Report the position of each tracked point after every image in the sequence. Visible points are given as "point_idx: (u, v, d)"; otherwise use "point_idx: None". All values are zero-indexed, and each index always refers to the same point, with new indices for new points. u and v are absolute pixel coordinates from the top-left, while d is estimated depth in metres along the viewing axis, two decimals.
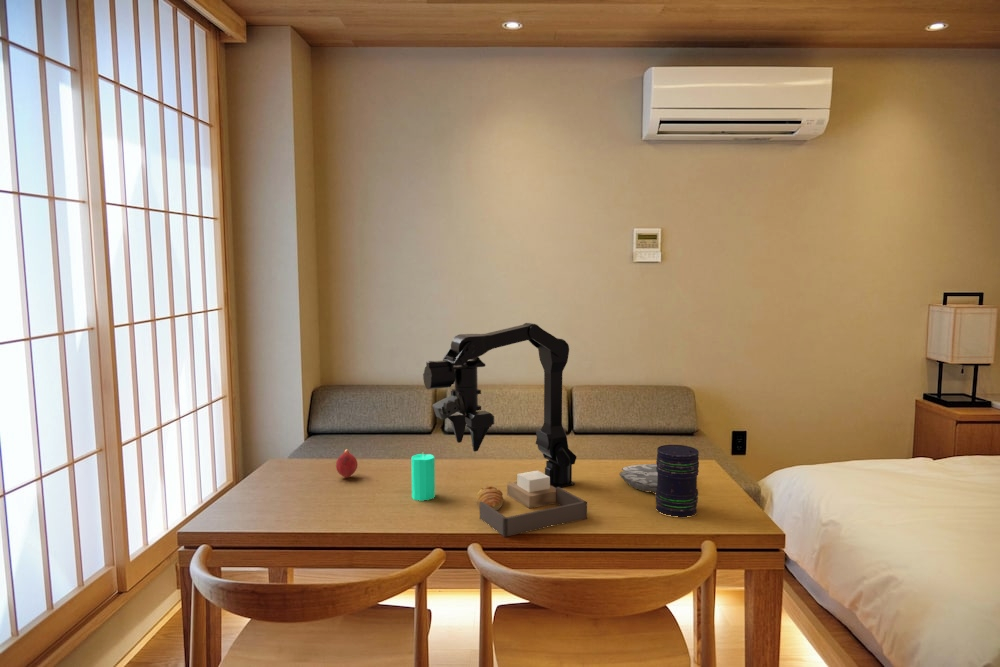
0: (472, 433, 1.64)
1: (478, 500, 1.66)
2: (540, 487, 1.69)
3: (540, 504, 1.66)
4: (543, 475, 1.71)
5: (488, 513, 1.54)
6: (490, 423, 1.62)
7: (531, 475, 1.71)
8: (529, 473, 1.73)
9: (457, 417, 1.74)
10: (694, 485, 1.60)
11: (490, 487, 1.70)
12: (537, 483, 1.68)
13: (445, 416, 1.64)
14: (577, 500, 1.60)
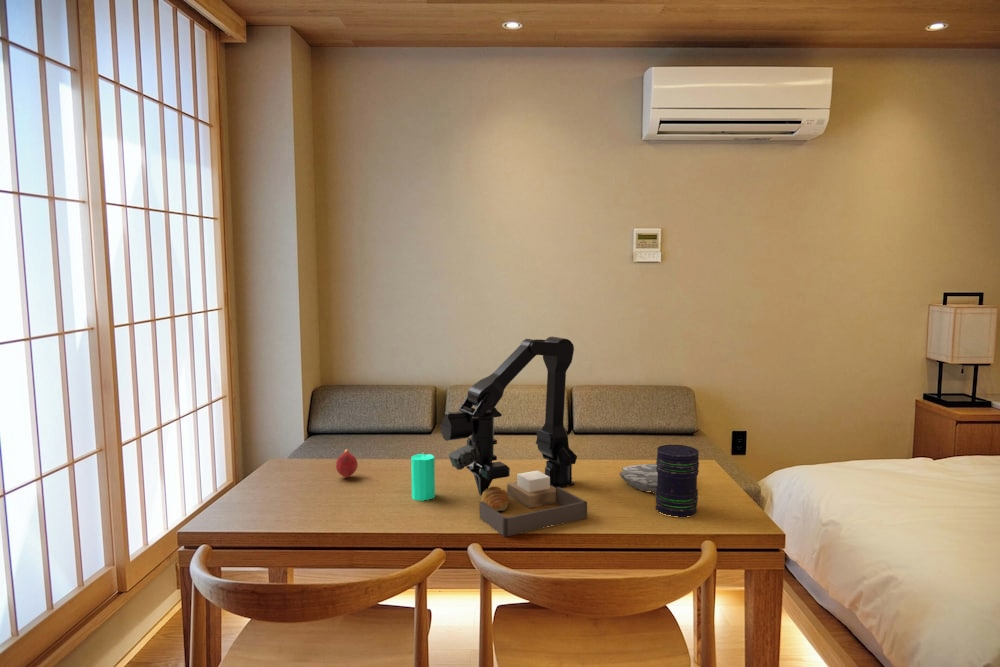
0: (479, 479, 1.69)
1: (484, 501, 1.65)
2: (540, 487, 1.69)
3: (540, 504, 1.66)
4: (543, 475, 1.71)
5: (488, 513, 1.54)
6: (506, 475, 1.63)
7: (531, 475, 1.71)
8: (529, 473, 1.73)
9: None
10: (694, 485, 1.60)
11: (494, 487, 1.69)
12: (537, 483, 1.68)
13: (461, 466, 1.65)
14: (577, 500, 1.60)
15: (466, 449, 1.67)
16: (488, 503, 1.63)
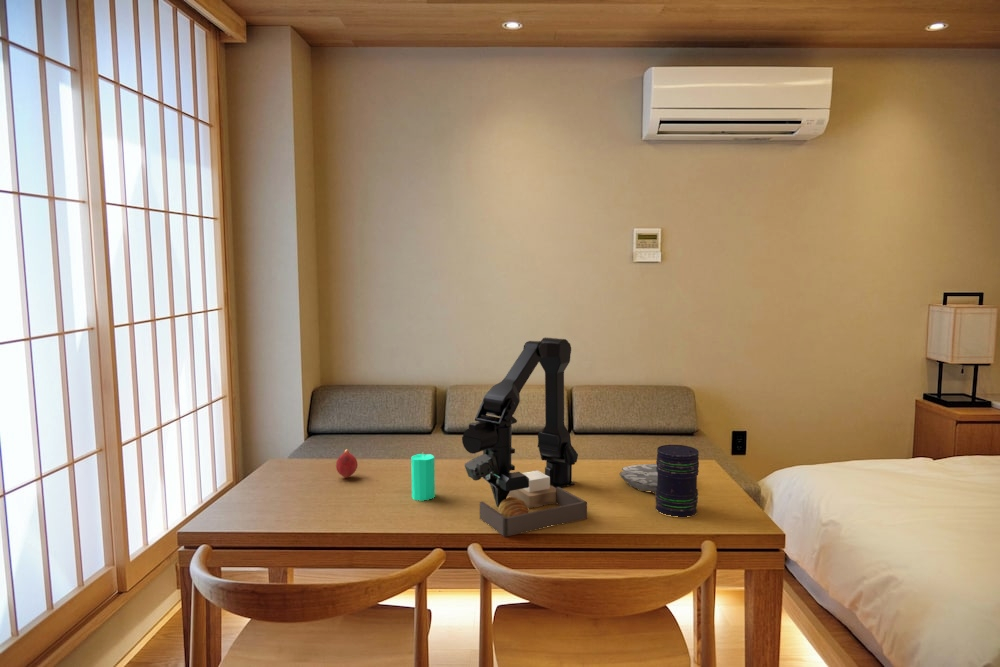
0: (497, 490, 1.61)
1: (503, 513, 1.57)
2: (540, 487, 1.69)
3: (540, 504, 1.66)
4: (543, 475, 1.71)
5: (488, 513, 1.54)
6: (525, 486, 1.55)
7: (531, 475, 1.71)
8: (529, 473, 1.73)
9: None
10: (694, 485, 1.60)
11: (512, 498, 1.62)
12: (537, 483, 1.68)
13: (478, 477, 1.57)
14: (577, 500, 1.60)
15: (483, 459, 1.60)
16: (508, 515, 1.56)
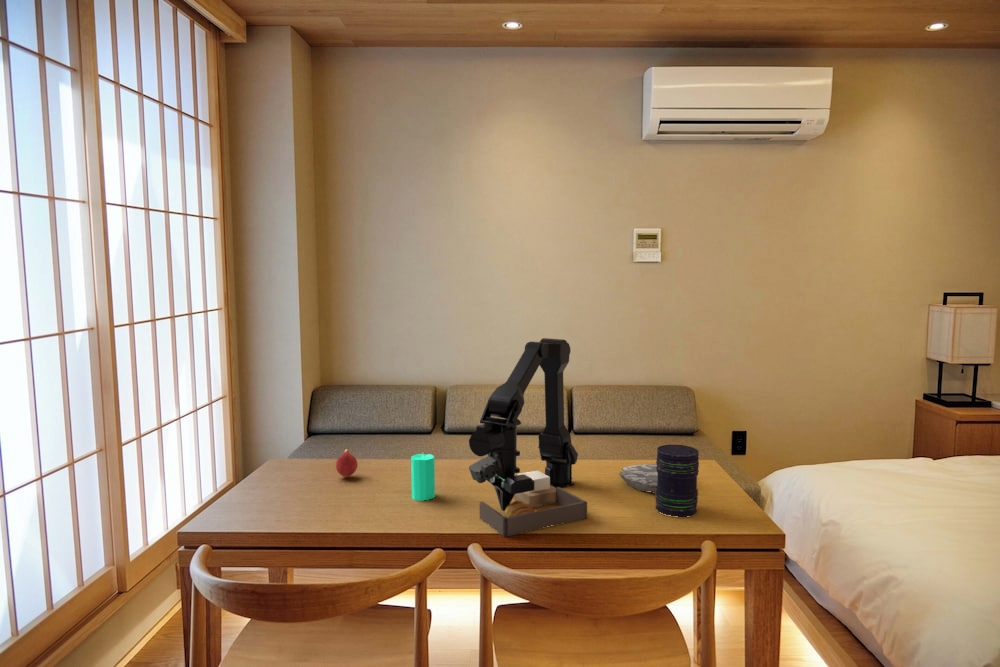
0: (501, 493, 1.59)
1: None
2: (540, 487, 1.69)
3: (540, 504, 1.66)
4: (543, 475, 1.71)
5: (488, 513, 1.54)
6: (531, 489, 1.53)
7: (531, 475, 1.71)
8: (529, 473, 1.73)
9: None
10: (694, 485, 1.60)
11: (518, 502, 1.60)
12: (537, 483, 1.68)
13: (482, 480, 1.55)
14: (577, 500, 1.60)
15: (487, 461, 1.57)
16: None
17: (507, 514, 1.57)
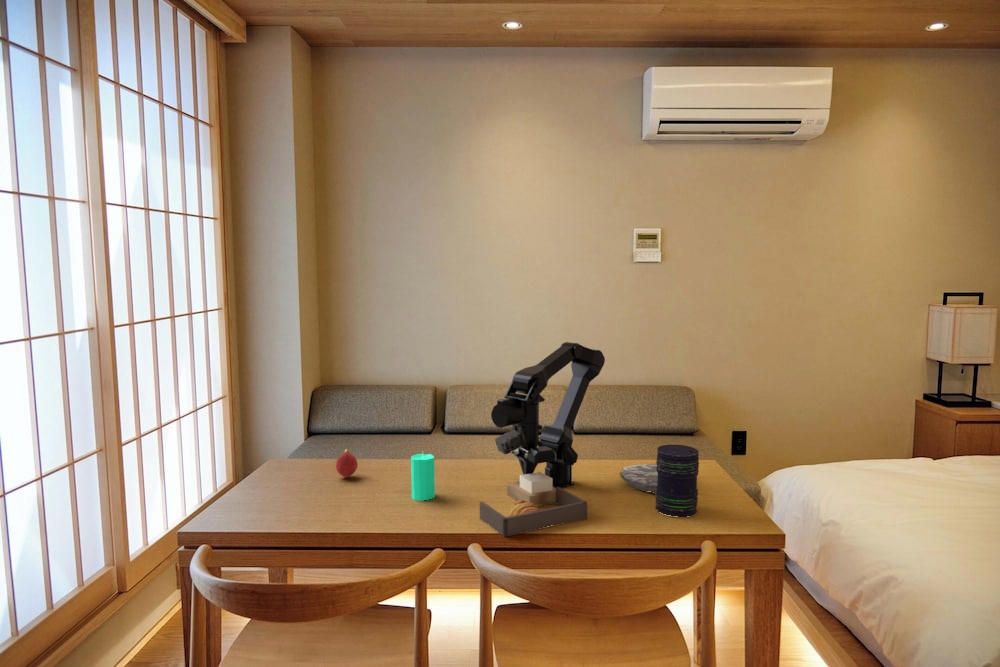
0: (525, 463, 1.71)
1: None
2: (542, 489, 1.68)
3: (540, 504, 1.66)
4: (545, 477, 1.70)
5: (488, 513, 1.54)
6: (552, 459, 1.66)
7: (534, 477, 1.70)
8: (532, 474, 1.72)
9: None
10: (694, 485, 1.60)
11: (522, 501, 1.60)
12: (540, 484, 1.67)
13: (508, 451, 1.68)
14: (577, 500, 1.60)
15: (512, 434, 1.70)
16: None
17: (513, 513, 1.57)
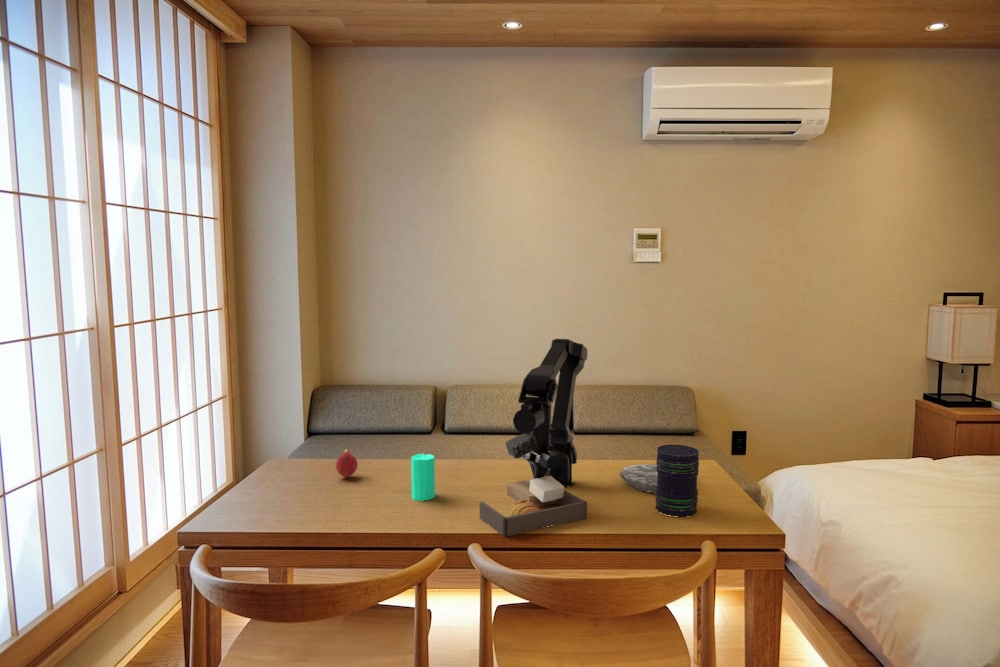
0: (536, 468, 1.67)
1: None
2: (553, 497, 1.64)
3: (540, 504, 1.66)
4: (557, 484, 1.66)
5: (488, 513, 1.54)
6: (565, 464, 1.61)
7: (545, 484, 1.65)
8: (543, 479, 1.67)
9: None
10: (694, 485, 1.60)
11: (523, 501, 1.60)
12: (552, 493, 1.63)
13: (519, 455, 1.63)
14: (577, 500, 1.60)
15: (523, 438, 1.65)
16: None
17: (513, 513, 1.57)
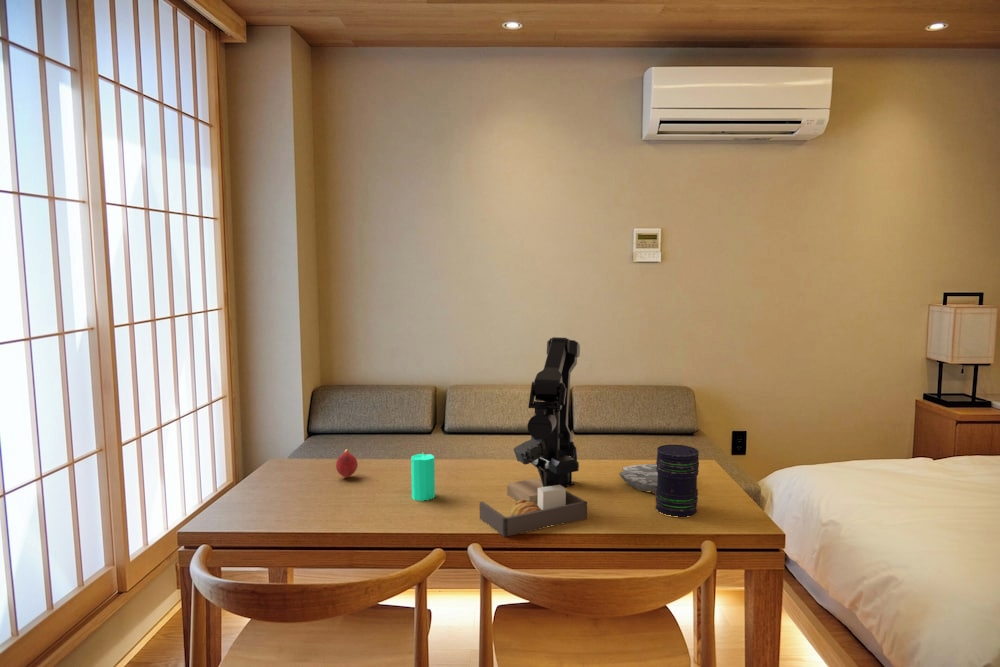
0: (545, 474, 1.63)
1: None
2: None
3: None
4: None
5: (488, 513, 1.54)
6: (575, 469, 1.58)
7: (552, 503, 1.61)
8: (554, 494, 1.61)
9: (545, 465, 1.66)
10: (694, 485, 1.60)
11: (523, 500, 1.61)
12: None
13: (528, 461, 1.59)
14: (577, 500, 1.60)
15: (532, 443, 1.62)
16: None
17: (514, 513, 1.57)
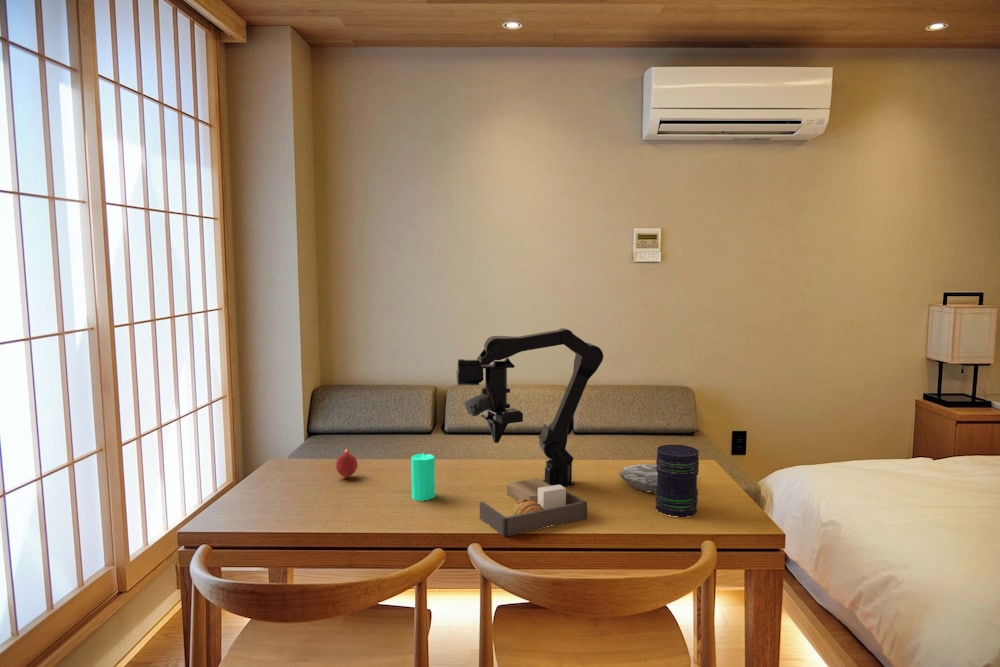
0: (494, 426, 1.77)
1: None
2: None
3: None
4: None
5: (488, 513, 1.54)
6: (519, 420, 1.71)
7: (552, 503, 1.61)
8: (554, 494, 1.61)
9: None
10: (694, 485, 1.60)
11: (525, 500, 1.61)
12: None
13: (476, 413, 1.73)
14: (577, 500, 1.60)
15: (481, 397, 1.76)
16: None
17: (516, 512, 1.58)
